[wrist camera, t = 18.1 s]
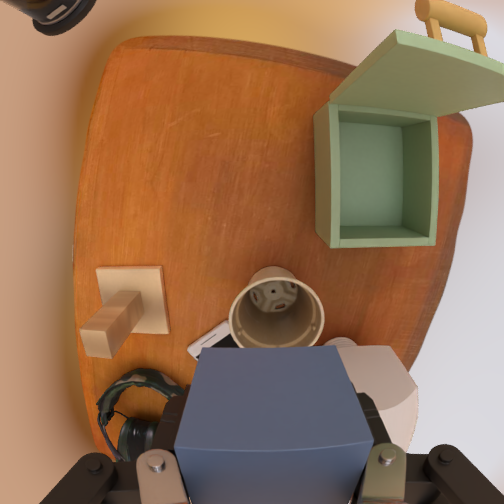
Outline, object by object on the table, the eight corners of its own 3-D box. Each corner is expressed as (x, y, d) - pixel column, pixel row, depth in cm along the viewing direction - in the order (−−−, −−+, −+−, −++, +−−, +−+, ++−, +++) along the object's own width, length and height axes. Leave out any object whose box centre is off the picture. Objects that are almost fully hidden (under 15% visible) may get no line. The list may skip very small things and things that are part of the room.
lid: (544, 94, 11) (526, 23, 9) (397, 43, 11) (378, -37, 10) (439, 116, 25) (433, 68, 24) (329, 104, 25) (325, 50, 24)
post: (99, 266, 38) (50, 301, 26) (162, 265, 38) (126, 304, 26) (111, 327, 40) (72, 374, 29) (170, 330, 40) (144, 384, 29)
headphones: (209, 478, 41) (204, 380, 39) (140, 508, 32) (112, 408, 30) (166, 439, 51) (156, 348, 49) (104, 459, 41) (81, 363, 39)
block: (201, 346, 11) (173, 446, 6) (335, 344, 11) (374, 440, 6) (212, 435, 12) (199, 524, 8) (322, 433, 12) (340, 520, 8)
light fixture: (302, 382, 42) (324, 496, 23) (306, 327, 40) (339, 441, 20) (364, 376, 42) (410, 479, 23) (373, 322, 40) (440, 421, 20)
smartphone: (258, 412, 44) (258, 416, 43) (187, 346, 41) (185, 350, 40) (297, 390, 42) (297, 394, 41) (226, 318, 39) (226, 321, 39)
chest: (404, 231, 36) (435, 245, 29) (315, 232, 37) (330, 248, 29) (404, 122, 33) (436, 113, 25) (313, 115, 33) (328, 100, 26)
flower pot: (273, 337, 40) (277, 376, 32) (218, 291, 39) (208, 324, 30) (325, 287, 38) (343, 318, 30) (271, 237, 37) (276, 256, 28)
